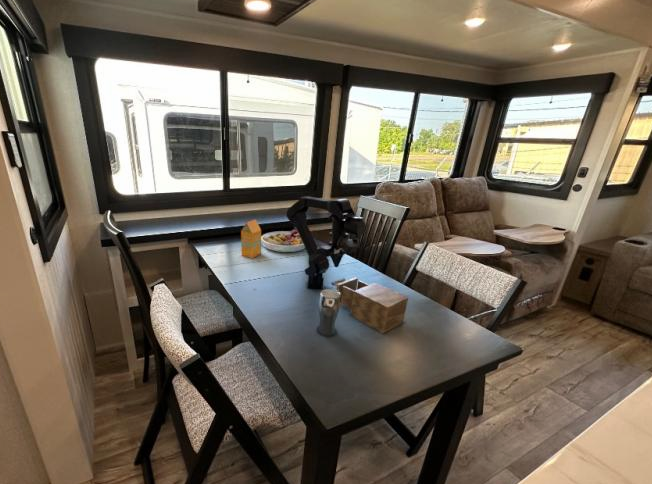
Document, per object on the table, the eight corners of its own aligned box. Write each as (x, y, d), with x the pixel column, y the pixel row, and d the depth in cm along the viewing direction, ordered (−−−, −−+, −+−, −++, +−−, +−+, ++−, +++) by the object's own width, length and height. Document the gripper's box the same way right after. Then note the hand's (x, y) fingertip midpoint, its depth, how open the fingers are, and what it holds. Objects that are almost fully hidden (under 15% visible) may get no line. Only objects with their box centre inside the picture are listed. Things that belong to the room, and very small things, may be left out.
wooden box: (350, 315, 120) (353, 290, 116) (370, 306, 127) (374, 282, 123) (382, 333, 109) (387, 307, 105) (403, 322, 116) (408, 297, 112)
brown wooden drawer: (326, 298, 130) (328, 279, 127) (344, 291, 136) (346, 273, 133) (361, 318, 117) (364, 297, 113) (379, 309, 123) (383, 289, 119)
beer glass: (337, 327, 112) (342, 290, 106) (334, 338, 106) (339, 300, 100) (318, 323, 114) (322, 287, 108) (314, 334, 108) (318, 296, 102)
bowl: (294, 257, 175) (295, 244, 172) (251, 247, 190) (251, 235, 187) (316, 243, 199) (317, 232, 196) (276, 235, 213) (277, 224, 210)
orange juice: (261, 253, 180) (261, 220, 172) (252, 258, 173) (252, 223, 166) (250, 251, 184) (250, 217, 176) (241, 255, 177) (240, 221, 169)
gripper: (338, 239, 114) (335, 278, 119) (370, 231, 124) (366, 267, 130) (316, 233, 122) (315, 269, 128) (348, 226, 132) (345, 260, 138)
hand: (336, 267), depth 130 cm, fingers closed
